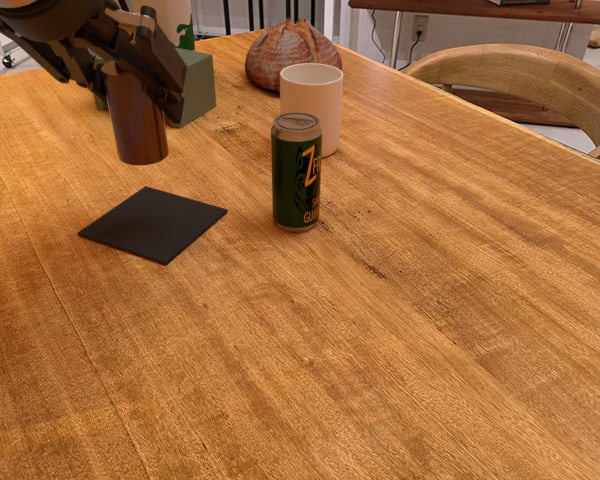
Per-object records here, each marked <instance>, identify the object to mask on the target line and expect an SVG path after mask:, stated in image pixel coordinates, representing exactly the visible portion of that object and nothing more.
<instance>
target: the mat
mask: <svg viewBox="0 0 600 480" xmlns="http://www.w3.org/2000/svg"><path fill="white" fill-rule="evenodd" d="M228 213H229V211H228V209H227V208H224V207H221V206H217V205H214V204H210V203H206V202H204V201H200V200H196V199H193V198H189V197H186V196H182V195H178V194H174V193H171V192H168V191H165V190H160V189H157V188H154V187H151V186H147V185H146V186H144V187H142V188H141V189H139V190H138V191H136V192H135V193H134V194H132V195H130V196H129V197H127V198H126V199H125V200H123V201H122V202H120V203H119V204H117V205H116V206H114V207H113V208H111V209H110V210H109V211H107V212H105V213H104V214H103V215H101V216H100V217H98V218H96V219H95V220H94V221H92V222H91V223H90V224H88V225H86V226H85V227H84V228H82V229H81V230H79V231H78V232H77V236H79V237H81V238H84V239H87V240H90V241H93V242H96V243H99V244H101V245H105V246H108V247H111V248H113V249H117V250H120V251H123V252H126V253H129V254H132V255H135V256H137V257H141V258H144V259H147V260H149V261H152V262H154V263H155V262H156V263H159V264H162V265H164V266H168V265H169V264H170V263H171V262H172V261H173V260H174V259H176V258H177V257H178V256H179V255H180V254H182V252H184V250H186V249H187V248H188V247H190V245H192V244H193V243H194V242H195V241H196V240H197V239H199V237H201V236H202V235H203V234H204V233H205V232H206V231H208V230H209V229H210V228H211V227H212V226H214V225H215V224H216V223H217V222H218V221H219V220H220V219H222V218H223V217H224V216H225V215H226V214H228Z"/></svg>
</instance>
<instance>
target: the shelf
mask: <svg viewBox="0 0 600 480" xmlns="http://www.w3.org/2000/svg"><path fill="white" fill-rule="evenodd" d="M174 48H175V47H174ZM175 49H176V51H177V52H178V53H179V55H180V56H181V58H182V59H183V61H184V62H185V64H186V65H187V73H186V78H185V84H184V90H183V93H181V95H182V97H183V98H184V99H185V101H184V107H183V112H182V118H181V124H175V123H173V122H172V121H171V120H170V122H171V127H173V128H176V129H177V128H178V129H181V128H182V127H184V126H186V125H188V124H189V123H191V122H192V121H194V120H196V119H197V118H198V117H201V116H202V115H205V113H207V112H208V111H210V110H212V109H214V108H216V106H217V95H216V82H215V72H214V71H215V70H214V69H215V68H214V57H213V54H212V53H207V52H201V51H196V50H195V51H191V50H186V49H180V48H175ZM91 54H92V55H93V56H94V55H96V58H95V63H94V69H95V70H96V66H97V64H104V65H105V64H107V63H109V62H112V61H105V60H103V59H102V58H101V57H99V56H98V55H97V54H95V53H94V52H92V53H91ZM93 98H94V102H95V107H96V109H97V110H101V111H106V110H107V109H109V108H108V105H107V104H106V103H105V102H104V101H102V100H101V99H100V98H98V97H97V96H95V95H94V94H93Z"/></svg>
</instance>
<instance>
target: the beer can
mask: <svg viewBox="0 0 600 480" xmlns="http://www.w3.org/2000/svg"><path fill="white" fill-rule="evenodd" d="M320 124H321V122H320V119H319V118H318V117H317V116H315V115H312V114H309V113H304V112H289V113H283V114H277V116H274V118H273V119H272V126H271V127H270V146H271V147H270V151H271V153H270V154H271V155H270V157H271V200H272V201H271V203H272V204H271V205H272V209H271V210H272V220H273V221H274V223H275V224H276V226H277V228H279V229H281V230H283V231H287V232H290V233H303V232H307V231H309V230H311V229H313V228H314V227H315V226H316V224H317V223H318V221H319V218H320V207H321V183H322V179H321V178H322V158H321V157H322V128H321V126H320Z"/></svg>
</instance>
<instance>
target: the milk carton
mask: <svg viewBox="0 0 600 480" xmlns="http://www.w3.org/2000/svg"><path fill="white" fill-rule="evenodd" d="M131 1H132V8H133V13H140V9H141V6H144V5H146V6H150V7H152V8H154V9H155V10H156V13H157V23H158V25H159V26H160V28H161V29H162V30H163V32H164V33H165V35H166V36H167V38H168V39H169V41H170V42H171V43H172V45H173V46H174V47H175V48H180V49H186V50H191V51H196V43H195V32H194V23H193V11H192V1H191V0H131Z"/></svg>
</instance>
